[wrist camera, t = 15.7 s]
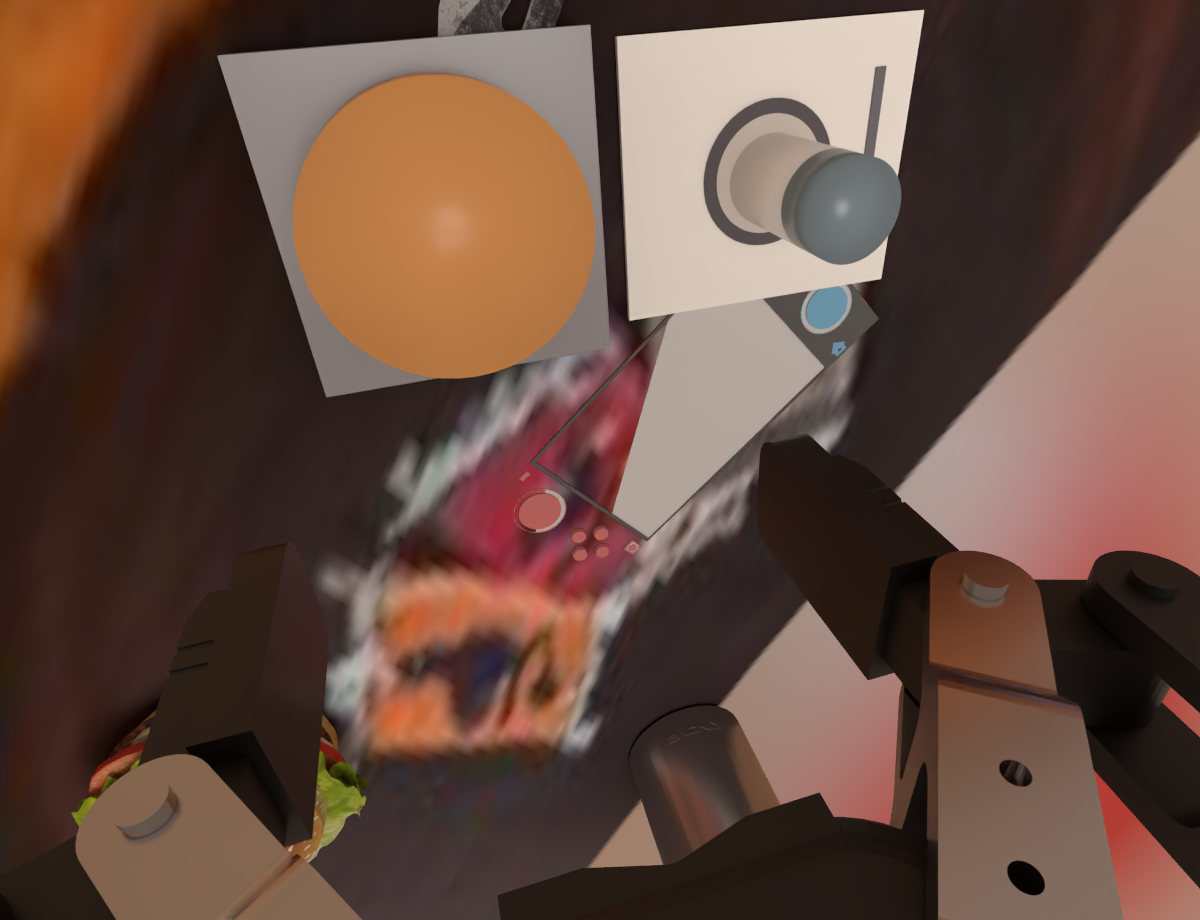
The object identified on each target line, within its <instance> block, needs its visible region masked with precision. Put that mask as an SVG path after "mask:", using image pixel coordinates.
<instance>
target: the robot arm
mask: <svg viewBox="0 0 1200 920" xmlns="http://www.w3.org/2000/svg"><path fill="white" fill-rule="evenodd" d="M757 522H758V527H759V530H760V533H761V536H762V538H763V540H764V542H765V544H766V545H767V547H768V548H769V550H770V551H771V552H772V554H773V555H774V556H775V558H776V559H777V560H778V561H779V563H780V564H781V565H782V567H783V568H784V569H785V571H786V572H787V573H788V575H789V576H790V577H791V579H792V580H793V581H794V583H795V584H796V585H797V587H798V588H799V589H800V591H801V592H802V593H803V595H804V596H805V597H806V599H807V600H808V601H809V603H810V604H811V605H812V607H813V608H814V609H815V611H816V612H817V613H818V615H819V616H820V617H821V618H822V620H823V621H824V623H825V624H826V625H827V627H828V628H829V629H830V631H831V632H832V633H833V635H834V636H835V637H836V639H837V640H838V641H839V642H840V644H841V645H842V646H843V648H844V649H845V650H846V652H847V653H848V654H849V656H850V657H851V658H852V660H853V661H854V662H855V664H856V665H857V666H858V668H859V669H860V670H861V672H862V673H863V674H864V676H865V677H866V678H867V680H870V679H874V678H877V677H881V676H884V675H888V674H891V673H895V674H896V675H897V677H898V678H899V679H900V680H901V682H902V687H901V691H900V696H899V711H898V730H897V748H896V767H895V785H894V798H893V808H892V814H891V820H890V825H886V824H884V823H879V822H875V821H870V820H865V819H858V818H847V817H833V815H832V813H831V811H830V810H829V808H828V806H827V805H826V803H825V801H824V799H823V798H822V796H821V794H820V793H817V794H814V795H810V796H808V797H804V798H801V799H798V800H795V801H792V802H788V803H786V804H782V805H780V803H779V801H778V799H777V797H776V795H775V793H774V791H773V789H772V787H771V785H770V783H769V781H768V779H767V777H766V775H765V773H764V771H763V770H762V768H761V766H760V763H759V761H758V759H757V758H756V755H755V754H754V752H753V750H752V748H751V746H750V744H749V742H748V740H747V738H746V736H745V734H744V732H743V730H742V728H741V726H740V724H739V723H738V720H737V719H736V718H735V716H734V715H733V714H732V713H731V712H729V711H728V710H726V709H724V708H721V707H717V706H709V705H707V706H695V707H690V708H685V709H682V710H679V711H677V712H674V713H672V714H670V715H668V716H666V717H664V718H662V719H660V720H659V721H657V722H656V723H654V724H653V725H651V726H650V727H649V728H648V729H647V730H646V731H644V732H643V733H642V734H641V736H640V737H639V738H638V739H637V741H636V742H635V744H634V746H633V748H632V750H631V753H630V758H629V761H630V767H631V770H632V773H633V776H634V779H635V782H636V785H637V788H638V791H639V794H640V797H641V800H642V803H643V806H644V809H645V812H646V815H647V818H648V821H649V824H650V827H651V830H652V833H653V836H654V839H655V842H656V845H657V848H658V851H659V854H660V857H661V860H662V863H663V865H653V866H629V867H628V866H627V867H604V868H582V869H579V870H575V871H572V872H569V873H566V874H563V875H560V876H557V877H553V878H550V879H547V880H544V881H541V882H538V883H535V884H532V885H528V886H525V887H522V888H519V889H516V890H513V891H510V892H506V893H503V894H500V895H498V902H499V909H500V917H501V920H1123V915H1122V910H1121V905H1120V900H1119V895H1118V890H1117V885H1116V880H1115V875H1114V870H1113V865H1112V860H1111V855H1110V850H1109V845H1108V840H1107V835H1106V830H1105V825H1104V819H1103V814H1102V809H1101V804H1100V799H1099V794H1098V789H1097V784H1096V779H1095V775H1094V770H1095V772H1096V773H1097V774H1098V775H1099V776H1100V777H1101V778H1102V779H1103V781H1105V783H1106V784H1107V785H1108V786H1109V787H1110V788H1111V789H1112V791H1113V792H1114V793H1115V794H1116V795H1117V796H1118V797H1119V798H1120V800H1121V801H1122V802H1123V803H1124V804H1125V805H1126V806H1127V807H1128V809H1129V810H1130V811H1131V812H1132V813H1133V814H1134V815H1135V816H1136V818H1138V820H1139V821H1140V822H1141V823H1142V824H1143V825H1144V826H1145V828H1146V829H1147V830H1148V831H1149V832H1150V833H1151V834H1152V835H1153V837H1154V838H1155V839H1156V840H1157V841H1158V842H1159V843H1160V844H1161V846H1163V848H1164V849H1165V850H1166V851H1167V852H1168V853H1169V854H1170V855H1171V857H1172V858H1173V859H1174V860H1175V861H1176V862H1177V863H1178V865H1179V866H1180V867H1181V868H1182V869H1183V870H1184V871H1185V872H1186V874H1187V875H1188V876H1189V877H1190V878H1191V879H1192V880H1193V881H1194V882H1195V884H1196V885H1197V886H1198V887H1199V888H1200V737H1199V736H1198V735H1197V734H1196V733H1194V732H1193V731H1192V730H1191V729H1190V728H1189V727H1188V726H1187V725H1186V724H1185V723H1184V722H1183V721H1181V720H1180V719H1179V718H1178V717H1177V716H1176V715H1175V714H1174V713H1173V712H1172V711H1171V710H1169V709H1168V708H1167V707H1166V706H1165V705H1164V704H1163V703H1162V701H1163V700H1164V698H1165V696H1166V694H1167V692H1168V691H1169V689H1170V687H1171V688H1173V689H1174V690H1175V691H1176V692H1177V693H1178V694H1179V695H1180V696H1182V697H1183V698H1184V699H1185V700H1186V701H1187V702H1188V703H1189V704H1191V705H1192V706H1193V707H1194V708H1195V709H1196V710H1197V711H1198V712H1199V713H1200V577H1199V576H1198V575H1197V574H1195V573H1194V572H1192V571H1191V570H1189V569H1188V568H1186V567H1184V566H1182V565H1180V564H1178V563H1176V562H1173V561H1171V560H1169V559H1166V558H1163V557H1160V556H1157V555H1153V554H1149V553H1144V552H1138V551H1114V552H1110V553H1107V554H1104V555H1102V556H1100V557H1099V558H1098V559H1097V560H1096V561H1095V563H1094V565H1093V567H1092V569H1091V572H1090V574H1089V577H1088V579H1087V580H1033V578H1032V577H1031V576H1030V575H1029V574H1028V573H1027V572H1025V571H1024V570H1023V569H1022V568H1020V567H1019V566H1017V565H1015V564H1014V563H1012V562H1010V561H1008V560H1006V559H1003V558H1001V557H998V556H995V555H992V554H988V553H984V552H977V551H959V550H958V549H957V548H956V547H955V546H954V545H952V544H951V543H950V542H949V541H948V540H947V539H946V538H944V537H943V536H942V535H941V534H940V533H939V532H938V531H937V530H936V529H935V528H933V527H932V526H931V525H930V524H929V523H928V522H927V521H926V520H924V519H923V518H922V517H921V516H920V515H919V514H918V513H917V512H915V511H914V510H913V509H912V508H911V507H910V506H909V505H908V504H907V503H905V502H903V503H902V502H901V498H900V497H899V496H898V495H897V494H895V493H894V492H893V491H892V490H891V489H890V488H886V487H885V484H884V483H883V482H882V481H881V480H880V479H879V478H877V477H876V476H875V475H874V474H873V473H872V472H871V471H870V470H869V469H867V468H866V467H864V466H862V465H860V464H858V463H856V462H854V461H851V460H849V459H847V458H845V457H843V456H841V455H836V456H831V455H830V454H829V453H828V452H827V451H826V450H824V449H823V448H822V447H821V446H820V445H819V444H818V443H817V442H816V441H815V440H814V439H813V438H812V437H810V436H809V435H807V434H802V435H798V436H793V437H788V438H784V439H779V440H774V441H770V442H766V443H764V444H763V446H762V448H761V452H760V465H759V481H758V497H757ZM177 650H178V653H177V654H175V655H174V658H173V661H172V664H171V667H170V670H169V672H170V677H167V680H166V683H165V686H164V689H163V692H162V695H161V698H160V701H159V704H158V707H157V710H156V713H155V716H154V719H153V722H152V725H151V728H150V731H149V734H148V737H147V740H146V743H145V746H144V749H143V752H142V755H141V758H140V761H139V764H138V767H137V768H135V769H133V770H131V771H130V772H128V773H127V774H125V775H124V776H122V777H121V778H119V779H118V780H117V781H116V782H114V783H113V784H112V785H111V786H110V787H109V788H108V789H107V790H106V791H104V792H103V793H102V794H101V795H100V797H99V798H98V799H97V800H96V801H95V802H94V804H93V805H92V806H91V808H90V809H89V811H88V812H87V814H86V815H85V817H84V819H83V821H82V823H81V825H80V828H79V830H78V833H77V835H76V836H74V837H72V838H71V839H69V840H67V841H66V842H64V843H62V844H60V845H59V846H57V847H55V848H53V849H51V850H49V851H47V852H45V853H43V854H41V855H40V856H38V857H36V858H34V859H32V860H30V861H28V862H26V863H24V864H22V865H20V866H19V867H17V868H15V869H13V870H11V871H9V872H7V873H5V874H3V875H1V876H0V920H362V919H361V918H360V917H359V916H358V915H357V914H356V913H355V912H354V911H353V910H352V909H351V908H350V907H349V906H348V904H347V903H346V902H345V901H344V900H343V899H342V898H341V897H340V896H339V895H338V894H337V893H336V892H335V891H334V889H333V888H332V887H331V886H330V885H329V884H328V883H327V882H326V881H325V880H324V879H323V878H322V877H321V876H320V874H319V873H318V872H317V871H316V870H315V869H314V868H313V867H312V866H311V865H310V864H309V863H308V862H307V861H306V860H305V859H304V858H302V857H301V856H300V855H298V854H296V855H295V856H294V857H293V856H292V855H291V854H290V853H289V852H288V851H287V850H286V849H285V847H286V846H290V845H293V844H297V843H300V842H304V841H307V840H311V839H312V835H313V824H314V812H315V800H316V788H317V777H318V765H319V753H320V741H321V730H322V718H323V706H324V695H325V683H326V671H327V659H328V635H327V628H326V623H325V619H324V616H323V613H322V610H321V607H320V605H319V602H318V600H317V597H316V595H315V593H314V590H313V588H312V585H311V583H310V580H309V578H308V575H307V573H306V570H305V568H304V565H303V563H302V560H301V558H300V555H299V553H298V551H297V549H296V547H295V546H294V545H293V544H292V543H286V544H281V545H276V546H272V547H267V548H262V549H258V550H253V551H248V552H244V553H240V554H239V555H238V557H237V560H236V563H235V567H234V571H233V574H232V578H231V582H230V585H229V589H225V590H220V591H216V592H211V593H208V595H207V596H206V597H205V598H204V599H203V601H202V602H201V603H200V604H199V605H198V607H197V608H196V609H195V610H194V611H193V613H192V614H191V615H190V616H189V618H188V619H187V620H186V622H185V625H184V628H183V631H182V634H181V637H180V640H179V643H178V646H177Z"/></svg>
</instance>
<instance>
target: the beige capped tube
mask: <svg viewBox="0 0 1200 920" xmlns="http://www.w3.org/2000/svg"><path fill="white" fill-rule="evenodd" d="M730 194H731V199H732V202H733V205H734V207H735V208H736V210H737V212H738V213H739V214H740V215H741V216H742V217H743V218H745V219H746V220H748V221H750V222H752V223H753V224H755V225H757V226H759V227H761V228H763V229H765V230H767V231H769V232H771V233H772V234H774V235H776V236H778V237H780V238H782V239H784V240H786V241H788V242H790V243H791V244H793V245H795V246H797V247H799V248H801V249H803V250H805V251H807V252H809V253H810V254H812V255H814V256H816V257H818V258H820V259H822V260H824V261H826V262H828V263H831V264H836V265H846V264H851V263H855V262H857V261H860V260H862V259H864V258H865V257H867V256H869V255H870V254H871V253H873V252H874V251H875V250H876V249H877V248H878V247H879V246H880V245H881V244H882V243H883V242H884V241H885V239H886V238H887V237H888V235H889V234H890V232H891V230H892V228H893V227H894V224H895V222H896V220H897V217H898V214H899V209H900V204H901V188H900V183H899V179H898V177H897V175H896V173H895V171H894V170H893V168H892V167H891V166H890V165H889V164H888V163H887V162H885V161H884V160H882V159H880V158H877V157H874V156H870V155H866V154H862V153H858V152H854V151H851V150H847V149H843V148H839V147H835V146H831V145H827V144H824V143H820V142H816V141H812V140H808V139H804V138H801V137H797V136H793V135H789V134H785V133H779V132H777V133H768V134H765V135H762V136H760V137H758V138H757V139H755V140H754V141H752V142H751V143H750V144H749V145H748V146H747V147H746V148H745V149H744V150H743V151H742V153H741V154H740V155H739V157H738V159H737V160H736V163H735V165H734V167H733V170H732V174H731V179H730Z"/></svg>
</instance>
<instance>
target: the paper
mask: <svg viewBox="0 0 1200 920" xmlns="http://www.w3.org/2000/svg"><path fill="white" fill-rule="evenodd" d="M923 14H924V10H916V11H904V12H892V13H881V14H869V15H858V16H846V17H835V18H823V19H812V20H800V21H789V22H777V23H766V24H754V25H743V26H731V27H719V28H708V29H696V30H685V31H673V32H662V33H650V34H639V35H627V36H616V37H615V52H616V74H617V95H618V117H619V138H620V160H621V181H622V203H623V225H624V246H625V268H626V289H627V311H628V319H629V321H631V320H637V319H643V318H649V317H655V316H661V315H667V314H673V313H679V312H685V311H691V310H697V309H703V308H709V307H715V306H721V305H727V304H733V303H739V302H745V301H751V300H757V299H763V298H769V297H775V296H781V295H787V294H793V293H799V292H805V291H811V290H817V289H824V288H830V287H836V286H842V285H848V284H854V283H860V282H866V281H872V280H878V279H881V277H882V270H883V264H884V258H885V252H886V245H887V239H888V237H887V238H886V239H885V241H884V242H883V243H882V244H881V245H880V246H879V247H878V248H877V249H876V250H875V251H874V252H873V253H871V254H870V255H869V256H867V257H865V258H864V259H862V260H860V261H857V262H855V263H851V264H846V265H836V264H831V263H828V262H826V261H824V260H822V259H820V258H818V257H816V256H814V255H812V254H810V253H809V252H807V251H805V250H803V249H801V248H799V247H797V246H795V245H793V244H791V243H790V242H788V241H786V240H784V239H782V238H780V237H778V236H776V235H774V234H772V233H771V232H769V231H767V230H765V229H763V228H761V227H759V226H757V225H755V224H753V223H752V222H750V221H748V220H746V219H745V218H743V217H742V216H741V215H740V214H739V213H738V212H737V210H736V208H735V207H734V205H733V202H732V199H731V194H730V179H731V174H732V170H733V167H734V165H735V163H736V160H737V159H738V157H739V155H740V154H741V153H742V151H743V150H744V149H745V148H746V147H747V146H748V145H749V144H750V143H751V142H752V141H754V140H755V139H757V138H758V137H760V136H762V135H765V134H768V133H777V132H779V133H785V134H789V135H793V136H797V137H801V138H804V139H808V140H812V141H816V142H820V143H824V144H827V145H831V146H835V147H839V148H843V149H847V150H851V151H854V152H858V153H862V154H866V155H870V156H874V157H877V158H880V159H882V160H884V161H885V162H887V163H888V164H889V165H890V166H891V167H892V168H893V170H894V171H895V173H896V175H897V177H898V170H899V164H900V158H901V152H902V146H903V139H904V133H905V127H906V121H907V114H908V108H909V102H910V96H911V89H912V83H913V77H914V71H915V64H916V58H917V52H918V46H919V39H920V33H921V27H922V21H923Z"/></svg>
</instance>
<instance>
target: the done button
mask: <svg viewBox="0 0 1200 920" xmlns="http://www.w3.org/2000/svg"><path fill="white" fill-rule="evenodd" d="M293 233H294V244H295V249H296V253H297V257H298V261H299V265H300V268H301V271H302V273H303V276H304V278H305V281H306V284H307V286H308V288H309V289H310V291H311V293H312V295H313V297H314V299H315V301H316V302H317V304H318V305H319V307H320V308H321V309H322V311H323V312H324V314H325V315H326V317H327V318H328V319H329V320H330V321H331V322H332V324H333V325H334V326H335V327H336V328H337V329H338V330H339V331H340V332H341V333H342V334H343V335H344V336H345V337H346V338H347V339H349V340H350V341H351V342H352V343H353V344H354V345H356V346H357V347H358V348H360V349H361V350H363V351H364V352H366V353H367V354H369V355H370V356H372V357H374V358H376V359H378V360H379V361H381V362H383V363H385V364H387V365H389V366H392V367H395V368H397V369H400V370H403V371H405V372H409V373H413V374H417V375H422V376H427V377H435V378H467V377H476V376H481V375H485V374H489V373H493V372H496V371H499V370H502V369H504V368H507V367H510V366H512V365H514V364H516V363H518V362H520V361H522V360H524V359H526V358H527V357H529V356H530V355H531V354H533V353H534V352H536V351H537V350H539V349H540V348H541V347H543V346H544V345H545V344H546V343H547V342H548V341H549V340H551V339H552V338H553V337H554V336H555V334H556V333H557V332H558V331H559V330H560V329H561V328H562V327H563V326H564V324H565V323H566V321H567V320H568V319H569V317H570V316H571V314H572V313H573V312H574V310H575V308H576V306H577V304H578V302H579V300H580V299H581V297H582V295H583V292H584V289H585V287H586V284H587V281H588V279H589V275H590V271H591V267H592V263H593V255H594V247H595V221H594V214H593V206H592V202H591V198H590V194H589V190H588V186H587V184H586V181H585V179H584V176H583V174H582V171H581V169H580V167H579V165H578V163H577V161H576V159H575V158H574V156H573V154H572V152H571V150H570V149H569V148H568V146H567V145H566V143H565V142H564V141H563V139H562V138H561V137H560V135H559V134H558V133H557V132H556V131H555V130H554V128H553V127H552V126H551V125H550V124H549V123H548V122H547V121H546V120H545V119H544V118H543V117H542V116H540V115H539V114H538V113H537V112H535V111H534V110H533V109H532V108H531V107H529V106H528V105H527V104H525V103H524V102H522V101H520V100H519V99H517V98H515V97H514V96H512V95H510V94H509V93H507V92H505V91H503V90H501V89H499V88H497V87H495V86H492V85H490V84H488V83H485V82H483V81H481V80H477V79H473V78H470V77H466V76H463V75H457V74H449V73H441V72H434V73H415V74H409V75H403V76H398V77H395V78H392V79H389V80H386V81H383V82H380V83H378V84H376V85H374V86H372V87H370V88H368V89H366V90H364V91H362V92H361V93H359V94H358V95H357V96H355V97H354V98H353V99H351V100H350V101H348V102H347V103H346V104H345V105H344V106H343V107H342V108H341V109H339V110H338V111H337V112H336V113H335V114H334V115H333V116H332V117H331V119H330V120H329V121H328V123H327V124H326V125H325V127H324V128H323V129H322V131H321V132H320V134H319V135H318V137H317V138H316V140H315V142H314V144H313V146H312V148H311V150H310V151H309V153H308V155H307V157H306V159H305V161H304V164H303V167H302V170H301V172H300V175H299V178H298V181H297V186H296V192H295V197H294V202H293Z"/></svg>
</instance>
